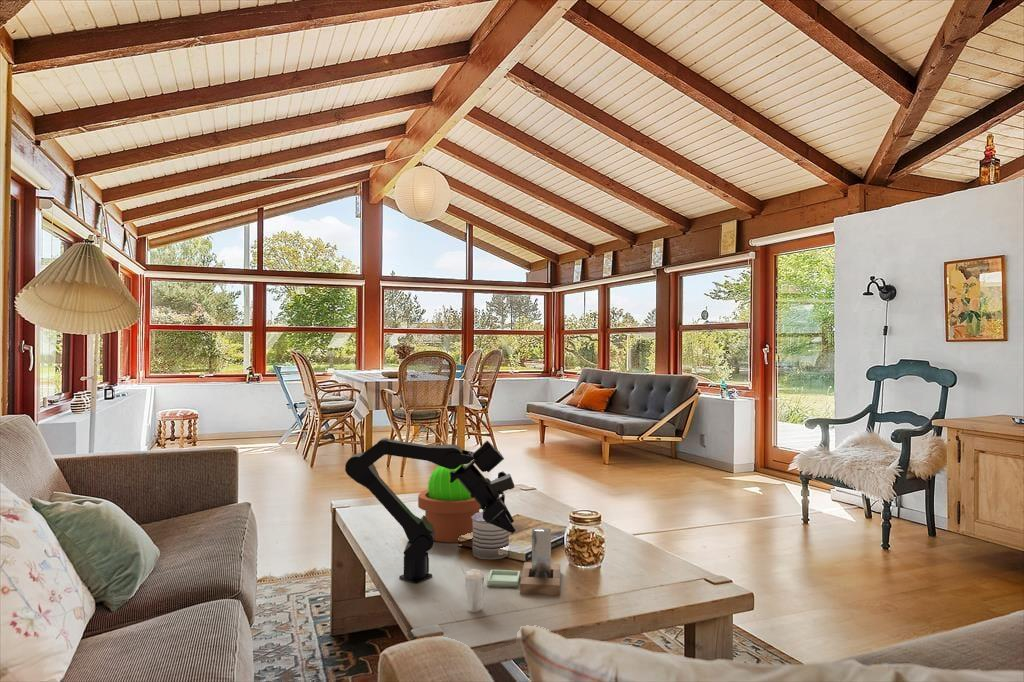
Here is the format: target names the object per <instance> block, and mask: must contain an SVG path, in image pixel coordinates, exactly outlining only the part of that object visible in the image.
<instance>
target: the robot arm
mask: <svg viewBox="0 0 1024 682" xmlns="http://www.w3.org/2000/svg"><path fill="white" fill-rule="evenodd" d="M383 456H392V457H400V458H407V459H413V460H420V461H426V462H429V463H433V464H434V465H437V466H442V467H445V468H448V469H456V468H458V467H459V466H460V465H462V466H461V467H459V468H458V469H457V470H456V471H450V476H451V479H450V483H452V482H454V481H455V480H456V479H458V480H459V481H460V482H461V484H462V485H463V486H464V487H465V488H466V489H467V490H468V492H469V493H470V496H471V497H472V498H473V497H474V499H475V500H476V501H477V502H478V503H479V504H480V508H481V509H480V510H482V512H483V519H484V520H485V521H486V522H487V523H489V524H493V525H495V526H497V527H500V528H502V529H504V530H506V531H508V532H509V533H511V534H514V533H515V532H516V529H515V527H514V525H513V523H514V521H515V520H514V518H513V516H512V514H511V512H510V511H509V509H508V507H507V505H506V503H505V499H506V495H505V493H504V492H506V491H508V490H513V489H515V488H516V487H515V482H514V480H513V478H512V476H511V474H510V473H505V471H500V472H497V477H496V478H495V479H493V480H490V479H489V477H485V476H484V475H483V474H482V473H484V472H485V473H486V472H487V473H490V472H491V471H492V470H493V469H494V468H495V467H497V466H498V465H499V464H500V463H501V462H502V461H504V460H505V458H504V456H503V454H502V453H501V452H500V450H499V449H497V447H495V446H494V445H493V444H492V443H491V442H490V441H489V440H485V441H484V442H483V444H482V445H481V446H479V448H477V449H476V450H475V451H470V450H465V449H462V448H461V447H460V446H459V445H457V444H453V443H451V444H436V445H428V444H421V443H415V442H408V441H403V440H401V441H400V440H394V439H390V438H387V437H383V438H380V440H379V441H377V442H376V443H375V444H374V445H372V446H371V447H369V448H368V449H367V450H365V451H364V452H357V453H355V454H354V455H352V456H351V457H349V459H348V460H347V461H346V462H345V465H344V467H345V468H344V471H345V473H346V475H347V476H348V477H349V478H351V479H352V480H353V481H354V482H356V483H357V484H359V485H361V486H363V487H365V488H366V489H367V490H369V492H370V493H371V494H372V495H373V496H374V497H375V498H376V500H377V501H378V502H379V503H380V504H381V505H382V506H383V507H384V508H385V509H386V511H388V513H389V514H390V515H391V516H392V517H393V518H394V520H396V522H397V523H398V525H400V526H401V527H402V529H403V531H404V534H405V536H406V537H407V540H408V541H407V543H406V544H405V548H404V551H403V574H401V575H399V576H398V578H399V579H401V580H405V581H407V582H410V583H414V584H418V583H421V582H423V581H425V580H427V579H428V580H429V578H432V577H433V574H432V573H429V571H430V570H429V569H430V557H429V551H430V550H432V548H433V546H434V542H435V541H434V539H435V531H434V529H433V526H434V525H433V524H431V523H430V522H429V521H428V520H427V518H426V517H425V514H423V515H422V516H421V517H418V516H417V515H415V514H414V513H413V512H412V511H411V509H409V508H408V506H407V505H406V504H405V503H404V502H403V501H402V500H401V499H400V498H399V497H398V495H397V494H396V493H395V492H394V490H392V489H391V488H390V486H389V485H388V484H387V483H386V482H385V481H384V479H382V477H381V476H380V475H379V472H378V470H377V467H376V465H375V464H374V463H376V462H377V461H378V460H379V459H381V458H382V457H383ZM463 464H467V466H464V465H463ZM476 466H477V467H476ZM480 471H481V472H480Z"/></svg>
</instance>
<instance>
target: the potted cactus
mask: <svg viewBox="0 0 1024 682" xmlns="http://www.w3.org/2000/svg"><path fill="white" fill-rule="evenodd" d="M463 465H464V466H467V465H468V464H463ZM461 466H462V465H460V466H459V467H461ZM459 467H458V468H459ZM458 468H456V469H448V468H445V467H442V466H439V465H437V466H436V467H435V468H433V470H432V471H431V475H430V477H429V480H428V482H427V484H428V486H427V487H428V488H427V489H426V490H423V491H421V492H420V493H418V496H417V499H418V500H417V506H418V508H419V509H420V510H421V511H425V512H424V513H425V514H424V516H425V517H426V518H427V520H428V521H429V522H430V523H431V524H433V525H434V526H433V529H434V531H435V539H434V542H440V543H452V544H453V543H454V544H455V543H461V542H460V541H459V540H458V538H459V536H461V535H465V534H467V533H471V532H473V518H471V517H472V516H473V515H474V514H476V513H479V512H480V510H482V509H481V508H480V504H479V503H478V502H477V501H476V500H475V499H474V497H473V498H472V497H471V496H470V493H469V492H468V490H467V489H466V488H465V487H464V486H463V485H462V484H461V482H460V481H459V480H458V479H456V480H455V481H454V482H452V483H450V479H451V476H450V471H456V470H457V469H458Z"/></svg>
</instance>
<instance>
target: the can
mask: <svg viewBox="0 0 1024 682" xmlns="http://www.w3.org/2000/svg"><path fill="white" fill-rule="evenodd" d="M471 518H473V539H472V544H471V545H472V546H471V547H472V557H475V558H477V559H480V560H481V559H482V560H490V561H491V560H499V559H504V558H506V557H507V556H509V555H508V554H503V555H499V554H498V549H500V548H503V547H506V546H508V545H509V546H510V532H508V531H506V530H504V529H502V528H500V527H497V526H495V525H493V524H489V523H487V522H486V521H485V520H484V519H483V511H481V512H480V511H479V513H476V514H474V515H473V516H472V517H471Z"/></svg>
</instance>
